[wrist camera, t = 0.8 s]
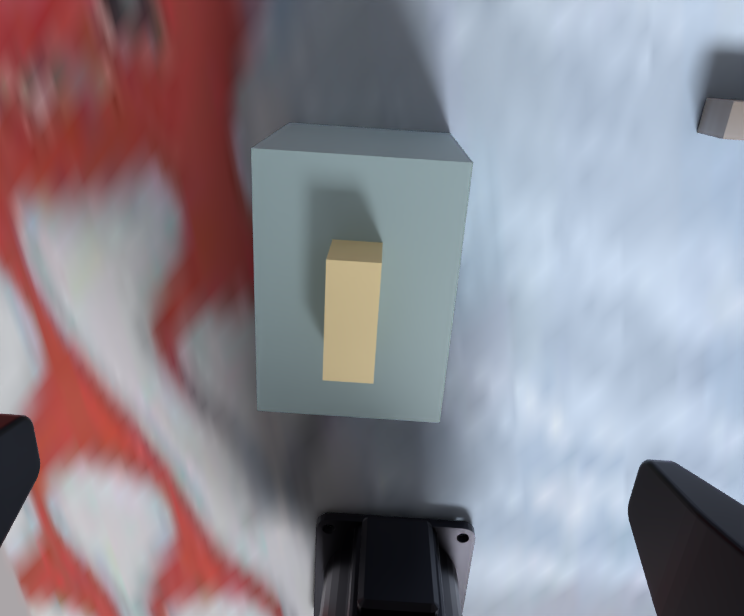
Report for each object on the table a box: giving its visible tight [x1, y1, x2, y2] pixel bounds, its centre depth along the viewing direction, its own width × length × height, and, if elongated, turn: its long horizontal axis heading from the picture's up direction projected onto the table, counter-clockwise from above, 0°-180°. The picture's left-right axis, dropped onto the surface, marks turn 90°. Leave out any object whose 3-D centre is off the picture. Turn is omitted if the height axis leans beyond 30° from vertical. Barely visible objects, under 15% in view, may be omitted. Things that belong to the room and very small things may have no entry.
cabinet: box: [251, 123, 473, 423], centre depth 16 cm, size 7×5×7 cm
